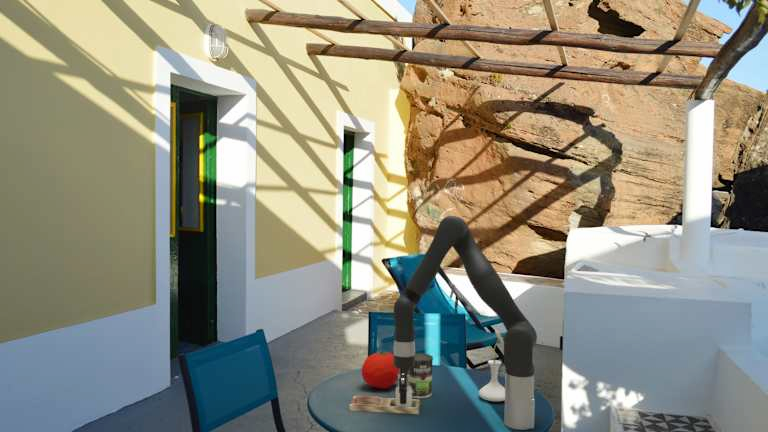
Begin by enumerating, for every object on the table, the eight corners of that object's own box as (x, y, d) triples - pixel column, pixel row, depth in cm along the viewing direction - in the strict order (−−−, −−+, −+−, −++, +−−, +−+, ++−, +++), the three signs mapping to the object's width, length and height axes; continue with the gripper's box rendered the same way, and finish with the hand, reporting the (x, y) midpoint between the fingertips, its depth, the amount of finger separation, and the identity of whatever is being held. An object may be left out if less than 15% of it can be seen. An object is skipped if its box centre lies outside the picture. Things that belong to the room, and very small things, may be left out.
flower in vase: (507, 406, 216) (509, 336, 215) (475, 402, 220) (477, 333, 219) (512, 394, 229) (513, 328, 227) (481, 390, 232) (483, 325, 231)
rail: (419, 405, 216) (419, 398, 216) (418, 414, 208) (418, 407, 208) (353, 401, 219) (353, 395, 219) (349, 410, 210) (349, 404, 210)
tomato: (390, 379, 244) (391, 345, 243) (406, 390, 232) (406, 354, 231) (354, 384, 238) (355, 350, 237) (368, 396, 225) (368, 359, 224)
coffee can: (436, 397, 225) (436, 359, 224) (409, 399, 222) (410, 361, 221) (426, 388, 235) (427, 352, 234) (401, 390, 232) (401, 353, 231)
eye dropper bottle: (410, 411, 210) (410, 377, 209) (394, 410, 211) (394, 376, 211) (412, 407, 214) (412, 373, 214) (396, 405, 216) (397, 372, 215)
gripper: (414, 359, 204) (413, 409, 205) (416, 347, 218) (415, 394, 219) (391, 358, 205) (391, 408, 206) (395, 347, 219) (394, 393, 220)
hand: (403, 401), depth 213 cm, fingers closed on eye dropper bottle, 4 cm apart
